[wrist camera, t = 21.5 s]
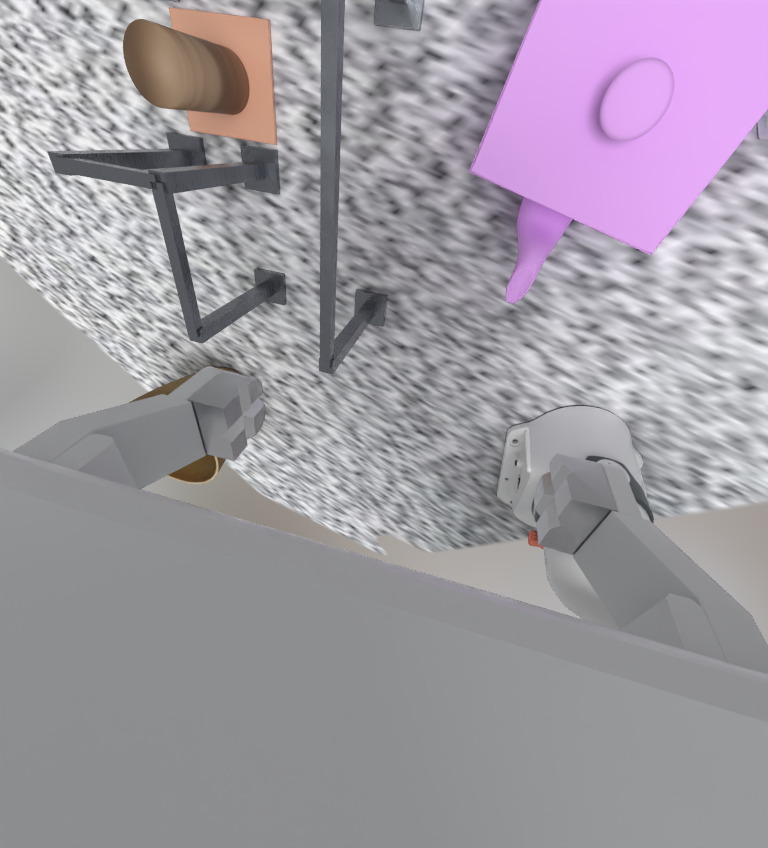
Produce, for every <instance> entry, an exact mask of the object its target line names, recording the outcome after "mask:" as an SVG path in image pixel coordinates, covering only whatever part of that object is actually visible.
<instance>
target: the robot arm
mask: <svg viewBox="0 0 768 848" xmlns="http://www.w3.org/2000/svg"><path fill="white" fill-rule="evenodd" d="M262 393H263V389H262V382H261V381H259V380H258V379H256V378H252V377H249V376H245V375H241V374H238V373H234V372H230V371H227V370H226V371H225V370H222V369H218V368H214V367H211V366H210V367H204V368H203V369H202V370H200V371H199V372H198V373H196V374H195V375H194V376H192V377H191V378H190V379H188V380H187V381H186V382H185V383H183V384H182V385H181V386H179V387H178V388H177V389H175V390H174V391H173V392H171V393H170V394H169V395H164V394H161V395H157V396H153V397H149V398H146V399H142V400H138V401H134V402H131V403H127V404H123V405H120V406H116V407H112V408H108V409H104V410H100V411H97V412H93V413H89V414H86V415H82V416H78V417H74V418H70V419H67V420H63V421H60V422H58V423H56V424H55V425H54V426H52V427H50V428H49V429H47V430H46V431H44V432H42V433H41V434H39V435H38V436H36V437H35V438H33V439H32V440H30V441H28V442H27V443H25V444H24V445H22V446H20V447H19V448H17V449H16V450H14V451H13V452H12V451H9V450H5V449H2V448H0V848H768V645H767V643H766V641H765V639H764V638H763V636H762V634H761V632H760V630H759V628H758V626H757V625H756V623H755V621H754V619H753V617H752V615H751V614H750V613H749V612H748V611H747V610H746V609H745V608H743V606H741V605H740V604H739V603H738V602H737V601H736V600H735V599H734V598H733V597H732V596H731V595H730V594H729V593H727V592H726V591H725V590H724V589H723V588H722V587H721V586H720V585H719V584H718V583H717V582H716V581H714V580H713V579H712V578H711V577H710V576H709V575H708V574H707V573H706V572H705V571H704V570H703V569H702V568H700V567H699V566H698V565H697V564H696V563H695V562H694V561H693V560H692V559H691V558H690V557H689V556H688V555H686V554H685V553H684V552H683V551H682V550H681V549H680V548H679V547H678V546H677V545H676V544H675V543H674V542H672V541H671V540H670V539H669V538H668V537H667V536H666V535H665V534H664V533H663V532H661V530H659V529H658V528H657V527H656V526H655V525H654V524H653V520H654V519H653V514H652V511H651V506H650V503H649V501H648V500H647V494H646V490H645V486H644V482H643V478H642V475H641V471H640V469H641V468H642V466H643V459H642V457H641V455H640V454H639V453H638V452H637V450H636V449H635V448H634V447H633V445H632V439H631V434H630V431H629V429H628V427H627V425H626V424H625V423H624V422H623V421H622V420H621V419H620V418H619V417H617V416H616V415H614V414H613V413H611V412H609V411H606V410H603V409H600V408H595V407H589V406H571V407H565V408H560V409H557V410H554V411H551V412H548V413H546V414H544V415H542V416H540V417H539V418H537V419H535V420H533V421H531V422H529V423H523V424H519V425H515V426H512V427H510V428H509V429H508V431H507V436H506V442H505V447H504V453H503V459H502V465H501V470H500V476H499V482H498V488H497V495H498V498H499V499H500V500H502V501H503V502H504V503H506V504H507V505H509V506H511V507H512V509H513V514H514V515H515V516H516V517H517V518H518V519H519V520H520V521H522V522H524V523H526V524H528V525H530V526H532V527H535V528H537V531H534V530H531V531H530V533H529V537H528V542H529V545H531V546H537V547H540V548H542V549H544V555H545V564H546V573H547V578H548V581H549V583H550V585H551V587H552V589H553V591H554V592H555V594H556V595H557V597H558V598H559V599H560V601H561V602H562V603H563V604H564V605H565V606H566V607H567V608H568V609H569V610H570V611H572V612H573V613H574V614H576V615H577V616H579V617H580V618H582V619H583V620H582V619H578V618H575V617H572V616H568V615H565V614H562V613H558V612H555V611H552V610H548V609H545V608H541V607H538V606H535V605H531V604H528V603H525V602H521V601H518V600H514V599H511V598H508V597H504V596H501V595H497V594H494V593H490V592H487V591H484V590H480V589H477V588H473V587H470V586H467V585H463V584H460V583H456V582H453V581H450V580H446V579H443V578H439V577H436V576H432V575H429V574H426V573H422V572H419V571H416V570H412V569H409V568H405V567H402V566H399V565H395V564H392V563H388V562H385V561H382V560H378V559H375V558H372V557H368V556H365V555H361V554H358V553H355V552H351V551H348V550H344V549H341V548H338V547H334V546H331V545H328V544H324V543H321V542H317V541H314V540H310V539H307V538H304V537H300V536H297V535H294V534H290V533H287V532H283V531H280V530H277V529H273V528H270V527H266V526H263V525H260V524H256V523H253V522H249V521H246V520H242V519H239V518H236V517H233V516H229V515H226V514H222V513H219V512H216V511H212V510H209V509H205V508H202V507H199V506H195V505H191V504H188V503H185V502H181V501H178V500H175V499H172V498H168V497H165V496H161V495H158V494H154V493H151V492H148V491H144V490H141V489H142V488H144V487H145V486H147V485H149V484H151V483H153V482H155V481H157V480H159V479H161V478H163V477H165V476H167V475H169V474H171V473H173V472H175V471H177V470H179V469H181V468H183V467H185V466H186V465H188V464H190V463H192V462H194V461H196V460H198V459H200V458H202V457H204V456H206V454H208V455H212V456H216V457H220V458H224V459H228V460H232V461H235V460H236V458H237V457H238V456H239V455H240V454H241V452H242V451H243V450H244V449H245V448H246V446H247V439H248V438H250V437H253V436H255V435H256V434H257V433H258V432H259V430H260V429H261V427H262V424H263V422H264V419H265V405H264V403H263V402H262V401H261V399H260V398H259V396H260V395H261V394H262ZM514 439H516V441H514Z"/></svg>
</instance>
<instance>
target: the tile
mask: <svg viewBox="0 0 768 848" xmlns="http://www.w3.org/2000/svg"><path fill="white" fill-rule="evenodd" d="M169 11H170V17H171V22H172V28H173V29H174V30H177V31H180V32H183V33H186V34H189V35H192V36H195V37H198V38H201V39H204V40H207V41H210V42H212V43H215V44H218V45H221V46H224V47H227V48H229V49H230V50H232V51H233V52H234V53H235V54H236V55H237V56H238V57H239V58H240V60H241V62H242V63H243V65H244V67H245V70H246V72H247V76H248V80H249V99H248V102H247V105H246V107H245V108H244V109H243V111H241V112H240V113H238V114H235V115H229V114H219V113H208V112H198V111H188V110H187V113H188V119H189V124H190V130H191V131H196V132H202V133H208V134H214V135H220V136H226V137H232V138H238V139H244V140H251V141H257V142H263V143H269V144H275V145H277V134H276V116H275V99H274V82H273V65H272V47H271V30H270V20H268V19H260V18H251V17H243V16H235V15H227V14H219V13H211V12H203V11H194V10H186V9H178V8H170V7H169Z"/></svg>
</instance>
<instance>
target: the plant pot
mask: <svg viewBox="0 0 768 848" xmlns="http://www.w3.org/2000/svg"><path fill="white" fill-rule="evenodd" d="M218 369H222V370H225V371H226V370H227V371H230V372H234V373H237V372H236V371H234V370H232V369H229V368H225V367H220V368H218ZM238 374H239V373H238ZM194 375H195V374H192V375H189V376H186V377H184V378H181V379H178V380H176V381H173V382H171V383H168V384H166V385H163V386H161V387H159V388H157V389H155V390H152V391H150V392H148V393H146V394H144V395H142V396H140V397H138V398H136V399H135V400H133V401H131V402H134V401H138V400H142V399H146V398H149V397H153V396H157V395H161V394H164V395H169V394H170V393H171V392H173V391H174V390H175V389H177V388H178V387H179V386H181V385H182V384H183V383H185V382H186V381H187V380H188V379H190V378H191V377H192V376H194ZM131 402H129V403H131ZM225 460H226V459H224V458H220V457H216V456H212V455H208V454H206V456H204V457H202V458H200V459H198V460H196V461H194V462H192V463H190V464H188V465H186V466H185V467H183V468H181V469H179V470H177V471H175V472H173V473H171V474H169V475H167V476H168V477H170V478H173V479H175V480H178V481H181V482H185V483H191V484H203V483H207V482H209V481H211V480H213V479H214V478H215V476H216V475H217V473H218V472H219V470H220V468H221V467H222V465H223V463H224V461H225Z"/></svg>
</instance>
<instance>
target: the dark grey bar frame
mask: <svg viewBox="0 0 768 848" xmlns="http://www.w3.org/2000/svg"><path fill="white" fill-rule="evenodd" d="M170 1H178V2H180V0H170ZM423 5H424V0H375V15H374V24H375V25H378V26H386V27H394V28H403V29H411V30H419V31H420V30H421V21H422V13H423ZM344 10H345V0H321V233H320V358H319V371H321V372H325V373H330V374H333V373H334V372H335V370H336V369H337V368H338V366H339V365H340V363H341V362H342V360H343V359H344V358H345V356H346V355H347V353H348V352H349V351H350V349H351V348H352V346H353V345H354V343H355V342H356V341H357V339H358V338H359V336H360V335H361V334H362V332H363V331H364V329H365V328H366V326H367V325H368V324H373V325H377V326H382V327H383V326H384V320H385V312H386V304H387V296H388V295H383V294H378V293H374V292H369V291H364V290H359V289H357V290H356V299H355V314H354V317H353V318H352V319H351V320H350V322H349V323H348V324H347V325H346V326H345V328H344V329H343V330H342V331H341V333H340V334H339V335H338V336H337V337H336V339H335V340H334V332H335V300H336V268H337V235H338V203H339V171H340V139H341V106H342V74H343V42H344ZM166 134H167V139H168V144H169V149H144V150H96V151H47V152H48V154H49V157H50V160H51V162H52V165H53V167H54V170H55V173H60V174H65V175H80V176H86V177H91V178H96V179H102V180H107V181H112V182H118V183H123V184H128V185H134V186H139V187H144V188H150V189H152V192H153V196H154V200H155V204H156V208H157V212H158V216H159V220H160V224H161V228H162V232H163V236H164V240H165V244H166V248H167V252H168V256H169V260H170V264H171V268H172V272H173V276H174V280H175V284H176V288H177V292H178V296H179V300H180V304H181V308H182V312H183V316H184V320H185V324H186V327H187V331H188V335H189V337H190V340H191V341H195V342H199V343H204V342H205V341H207V340H208V339H210V338H211V337H213V336H214V335H216V334H217V333H218V332H220V331H221V330H223V329H224V328H226V327H227V326H229V325H230V324H232V323H233V322H235V321H236V320H237V319H239V318H240V317H242V316H243V315H245V314H246V313H248V312H249V311H251V310H252V309H254V308H255V307H256V306H258V305H259V304H261V303H262V302H264V301H267V302H272V303H276V304H281V305H285V304H286V289H285V274H282V273H278V272H273V271H268V270H263V269H258V268H256V269H254V272H255V282H256V287H254V288H252V289H251V290H249V291H247V292H246V293H244V294H242V295H241V296H239V297H237V298H236V299H234V300H232V301H231V302H229V303H227V304H226V305H224V306H222V307H221V308H219V309H217V310H216V311H214V312H212V313H211V314H209V315H207V316H206V317H204V318H202V319H200V314H199V310H198V305H197V301H196V296H195V292H194V287H193V282H192V278H191V273H190V269H189V264H188V260H187V255H186V251H185V246H184V242H183V237H182V232H181V228H180V223H179V219H178V214H177V210H176V205H175V201H174V196H173V193H179V192H185V191H191V190H198V189H204V188H210V187H217V186H223V185H229V184H236V183H242V182H245V188H246V189H251V190H257V191H262V192H268V193H273V194H280V185H279V168H278V151H277V150H272V149H266V148H260V147H254V146H248V145H241V154H242V162H239V163H226V164H214V165H206V159H205V153H204V146H203V140H202V138H200V137H194V136H188V135H182V134H176V133H170V132H166ZM160 168H163V169H160ZM147 169H150V170H148V171H146V170H147Z"/></svg>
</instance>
